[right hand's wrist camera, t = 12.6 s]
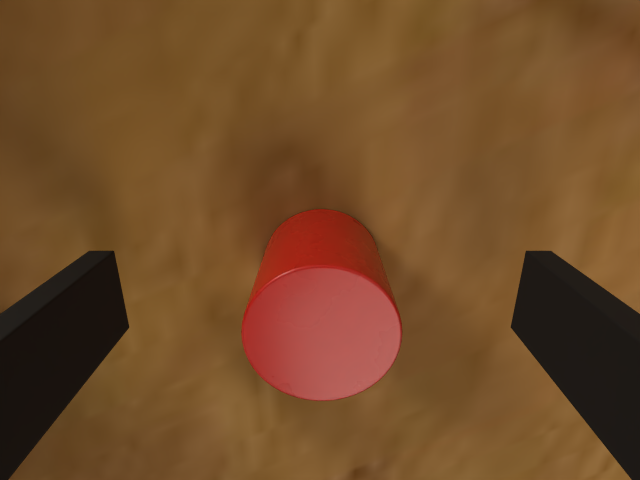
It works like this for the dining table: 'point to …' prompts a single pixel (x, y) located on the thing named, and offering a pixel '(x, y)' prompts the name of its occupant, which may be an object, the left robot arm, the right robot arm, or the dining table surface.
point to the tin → (321, 309)
